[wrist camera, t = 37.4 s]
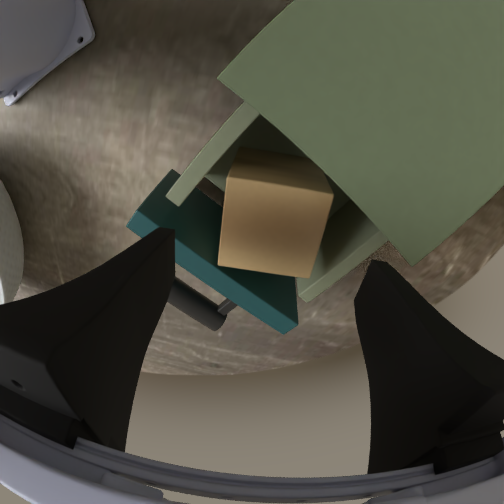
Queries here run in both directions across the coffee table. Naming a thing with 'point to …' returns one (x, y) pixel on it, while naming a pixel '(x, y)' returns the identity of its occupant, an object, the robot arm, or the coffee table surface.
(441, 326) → the robot arm
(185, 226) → the drawer
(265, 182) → the block
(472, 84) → the cabinet
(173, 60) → the coffee table surface
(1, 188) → the cereal bowl
